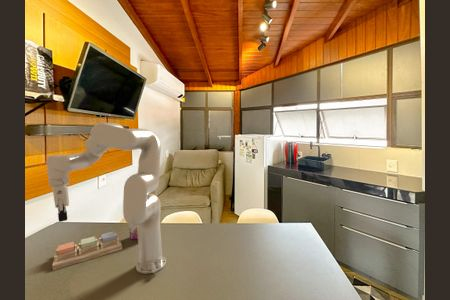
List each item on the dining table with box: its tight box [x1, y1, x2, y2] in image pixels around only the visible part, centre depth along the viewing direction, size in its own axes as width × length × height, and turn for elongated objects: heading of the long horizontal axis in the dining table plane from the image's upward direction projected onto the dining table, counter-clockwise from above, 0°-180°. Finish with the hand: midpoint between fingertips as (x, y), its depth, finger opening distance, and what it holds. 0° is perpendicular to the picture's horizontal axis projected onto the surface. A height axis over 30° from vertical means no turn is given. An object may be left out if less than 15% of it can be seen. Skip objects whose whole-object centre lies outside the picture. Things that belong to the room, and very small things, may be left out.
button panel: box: [52, 233, 123, 271], centre depth 110 cm, size 14×28×4 cm, turn 124°
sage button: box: [80, 235, 96, 249], centre depth 110 cm, size 6×6×3 cm
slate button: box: [101, 230, 116, 243], centre depth 115 cm, size 6×6×3 cm
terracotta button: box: [57, 241, 75, 255], centre depth 105 cm, size 6×6×3 cm
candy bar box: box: [128, 224, 138, 240], centre depth 123 cm, size 11×5×16 cm, turn 84°
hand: (63, 220), depth 104 cm, fingers closed
